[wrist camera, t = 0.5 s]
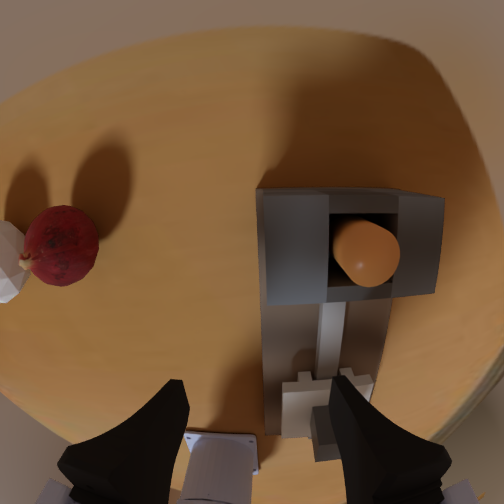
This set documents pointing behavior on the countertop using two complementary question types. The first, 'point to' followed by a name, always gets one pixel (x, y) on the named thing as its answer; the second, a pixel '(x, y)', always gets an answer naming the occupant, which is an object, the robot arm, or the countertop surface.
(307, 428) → the carriage
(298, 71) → the countertop surface
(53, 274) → the onion
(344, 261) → the brown egg
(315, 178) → the countertop surface
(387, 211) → the rail bed
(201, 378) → the countertop surface
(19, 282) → the ball
